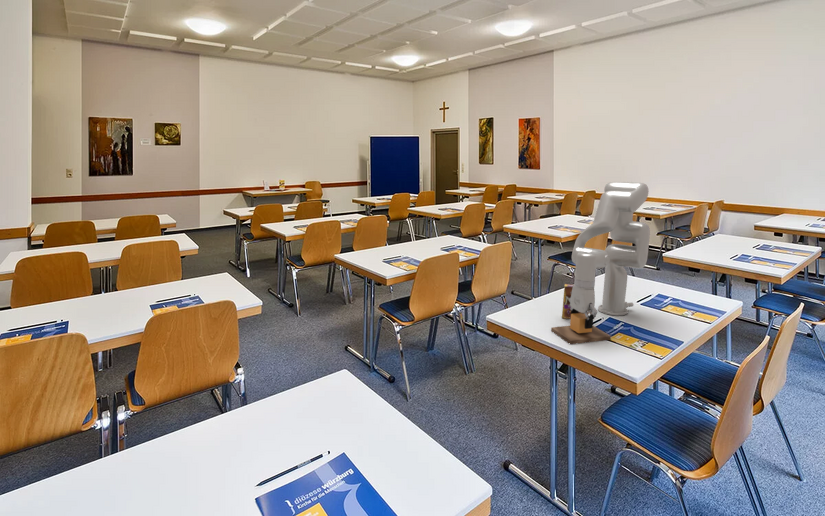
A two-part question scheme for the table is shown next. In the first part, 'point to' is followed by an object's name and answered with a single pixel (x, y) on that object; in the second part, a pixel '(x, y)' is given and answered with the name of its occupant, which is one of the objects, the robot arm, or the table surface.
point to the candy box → (567, 301)
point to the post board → (580, 335)
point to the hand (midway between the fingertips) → (581, 323)
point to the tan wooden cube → (579, 323)
